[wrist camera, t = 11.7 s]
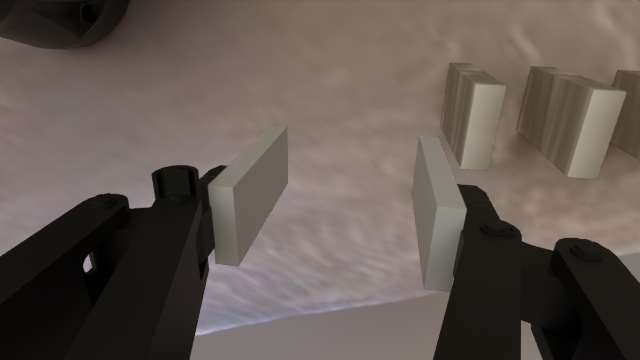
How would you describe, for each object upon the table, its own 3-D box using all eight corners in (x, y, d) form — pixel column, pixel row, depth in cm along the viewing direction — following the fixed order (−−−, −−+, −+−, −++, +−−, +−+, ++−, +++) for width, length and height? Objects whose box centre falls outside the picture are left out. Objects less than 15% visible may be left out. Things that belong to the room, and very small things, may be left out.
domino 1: (440, 124, 32) (460, 168, 23) (449, 62, 30) (475, 84, 21) (460, 126, 32) (488, 170, 23) (471, 63, 30) (506, 85, 21)
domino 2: (516, 129, 32) (567, 176, 22) (531, 66, 30) (593, 90, 20) (536, 131, 31) (597, 179, 22) (553, 67, 29) (626, 91, 20)
